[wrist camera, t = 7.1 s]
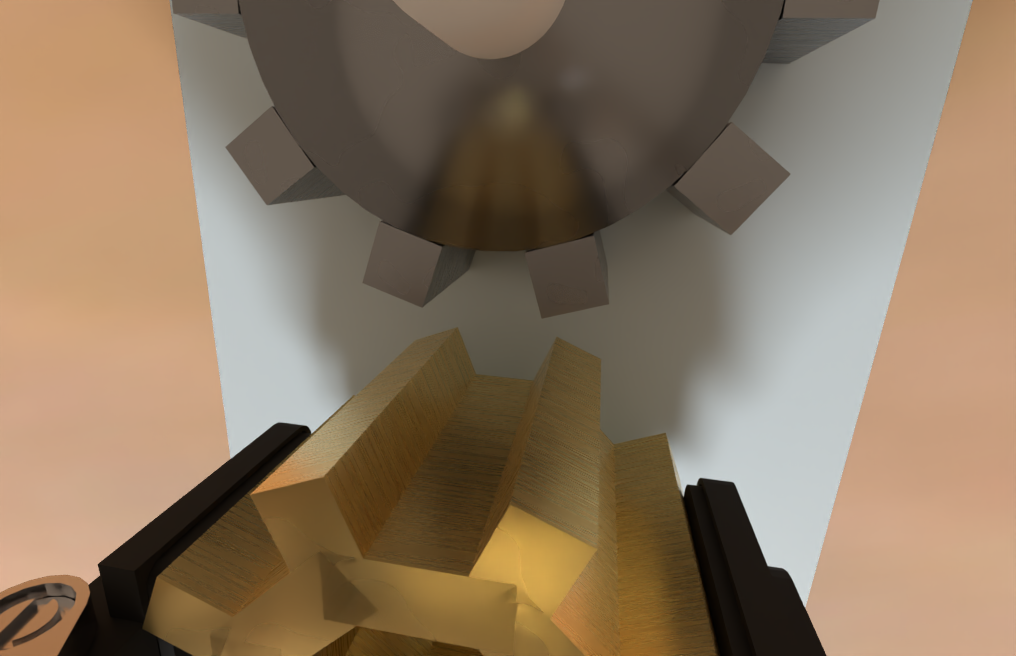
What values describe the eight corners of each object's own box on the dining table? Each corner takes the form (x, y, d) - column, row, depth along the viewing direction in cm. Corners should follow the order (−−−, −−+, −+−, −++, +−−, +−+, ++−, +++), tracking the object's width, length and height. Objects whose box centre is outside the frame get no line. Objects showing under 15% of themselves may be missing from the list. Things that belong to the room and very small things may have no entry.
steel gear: (862, -328, 7) (1024, -634, 5) (745, 291, 10) (801, 342, 7) (268, -280, 9) (106, -494, 6) (307, 256, 11) (209, 288, 9)
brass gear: (698, 350, 9) (796, 547, 5) (649, 650, 11) (680, 996, 7) (333, 314, 10) (102, 444, 6) (349, 595, 12) (192, 862, 8)
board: (999, -365, 8) (2067, -1780, 2) (722, 772, 16) (793, 1136, 10) (204, -294, 10) (-360, -937, 4) (303, 684, 18) (154, 944, 12)
